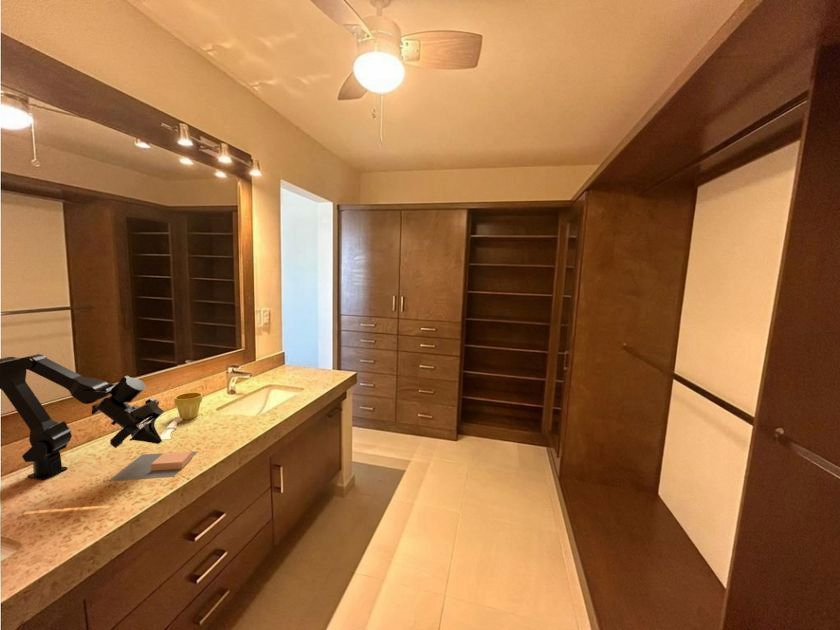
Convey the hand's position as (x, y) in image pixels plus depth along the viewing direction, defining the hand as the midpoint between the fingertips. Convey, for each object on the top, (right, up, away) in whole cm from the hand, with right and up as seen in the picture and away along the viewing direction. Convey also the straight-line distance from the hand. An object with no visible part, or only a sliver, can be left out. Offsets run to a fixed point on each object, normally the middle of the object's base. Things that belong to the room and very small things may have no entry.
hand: (160, 442), depth 112 cm
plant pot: (-19, -4, +41) cm, 46 cm away
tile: (-1, -6, 0) cm, 7 cm away
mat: (-2, -8, +1) cm, 8 cm away
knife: (-13, -6, +24) cm, 28 cm away
